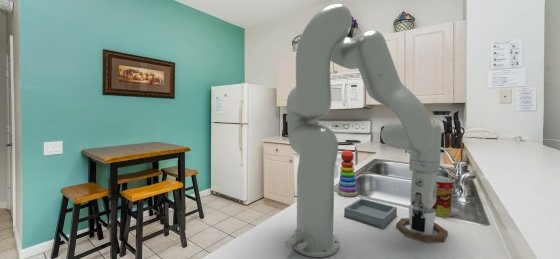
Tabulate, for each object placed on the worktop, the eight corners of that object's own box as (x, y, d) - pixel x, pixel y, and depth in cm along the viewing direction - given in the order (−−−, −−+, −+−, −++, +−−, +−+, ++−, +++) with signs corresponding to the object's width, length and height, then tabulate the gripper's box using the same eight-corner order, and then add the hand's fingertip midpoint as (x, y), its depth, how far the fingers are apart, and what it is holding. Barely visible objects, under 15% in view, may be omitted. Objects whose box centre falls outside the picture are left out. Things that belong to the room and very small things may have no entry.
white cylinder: (421, 238, 68) (422, 214, 67) (402, 227, 74) (403, 204, 74) (440, 235, 70) (442, 211, 69) (420, 224, 76) (421, 202, 76)
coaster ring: (441, 247, 63) (442, 243, 63) (391, 231, 72) (392, 227, 71) (449, 230, 72) (449, 226, 72) (404, 218, 81) (404, 214, 81)
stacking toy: (355, 191, 107) (356, 149, 106) (359, 197, 100) (360, 152, 98) (336, 190, 108) (337, 148, 107) (339, 197, 100) (340, 151, 99)
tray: (382, 229, 73) (383, 219, 73) (344, 216, 82) (344, 207, 81) (396, 215, 82) (396, 207, 82) (360, 205, 91) (360, 198, 91)
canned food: (421, 207, 90) (422, 175, 89) (444, 209, 88) (446, 176, 88) (430, 216, 82) (432, 181, 81) (456, 218, 81) (458, 182, 80)
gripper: (432, 173, 62) (429, 242, 63) (445, 163, 74) (441, 220, 76) (400, 169, 67) (398, 232, 68) (417, 159, 79) (414, 213, 81)
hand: (421, 225), depth 72 cm, fingers closed on white cylinder, 6 cm apart
